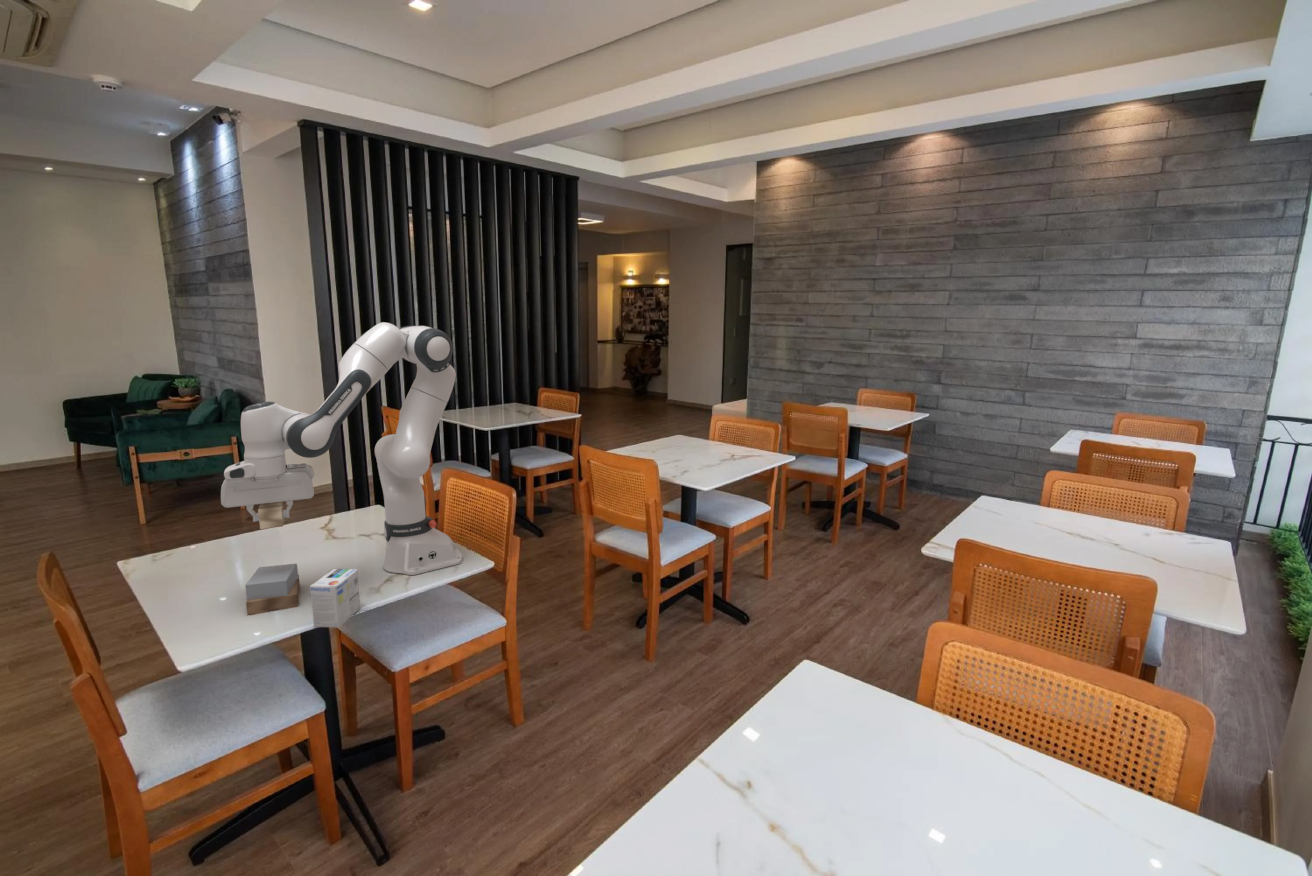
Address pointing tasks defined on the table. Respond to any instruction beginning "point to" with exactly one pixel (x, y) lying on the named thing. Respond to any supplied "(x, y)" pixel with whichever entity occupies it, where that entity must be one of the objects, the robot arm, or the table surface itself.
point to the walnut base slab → (275, 602)
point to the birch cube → (270, 515)
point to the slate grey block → (272, 581)
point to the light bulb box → (335, 597)
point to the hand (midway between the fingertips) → (271, 519)
